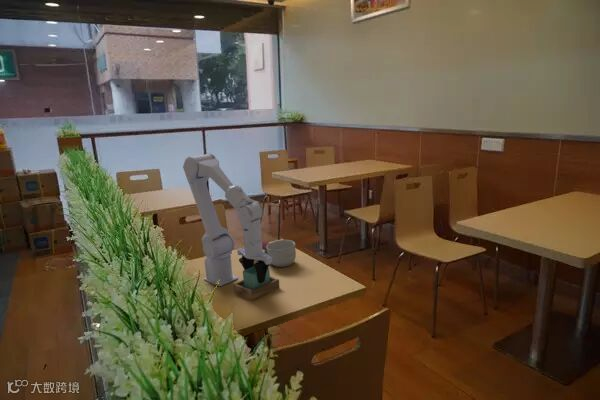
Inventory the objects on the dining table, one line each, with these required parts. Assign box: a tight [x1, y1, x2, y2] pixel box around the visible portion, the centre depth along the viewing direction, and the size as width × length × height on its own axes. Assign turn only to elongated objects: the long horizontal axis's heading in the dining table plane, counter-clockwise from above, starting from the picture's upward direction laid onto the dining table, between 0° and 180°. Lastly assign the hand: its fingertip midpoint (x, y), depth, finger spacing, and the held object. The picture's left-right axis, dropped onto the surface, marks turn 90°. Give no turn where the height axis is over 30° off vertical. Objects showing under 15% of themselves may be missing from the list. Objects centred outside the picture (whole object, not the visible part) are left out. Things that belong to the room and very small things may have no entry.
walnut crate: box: [232, 275, 280, 302], centre depth 132 cm, size 9×11×3 cm
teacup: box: [266, 238, 297, 268], centre depth 154 cm, size 14×11×8 cm
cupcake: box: [262, 240, 270, 255], centre depth 159 cm, size 9×8×12 cm
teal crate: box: [242, 266, 271, 290], centre depth 132 cm, size 5×7×6 cm
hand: (256, 279), depth 132 cm, fingers closed on teal crate, 5 cm apart
